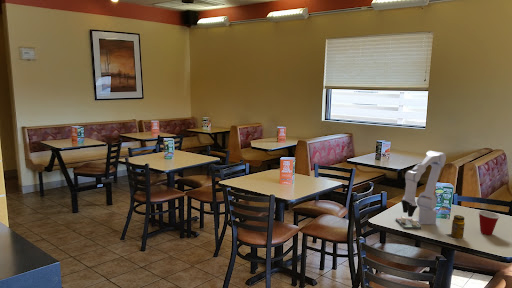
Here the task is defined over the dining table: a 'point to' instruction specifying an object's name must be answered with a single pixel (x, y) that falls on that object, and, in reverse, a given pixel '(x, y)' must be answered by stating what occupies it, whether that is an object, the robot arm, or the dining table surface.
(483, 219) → the plastic cup
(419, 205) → the robot arm
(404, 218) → the breaker
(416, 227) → the breaker panel
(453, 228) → the condiment
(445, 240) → the dining table surface
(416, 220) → the breaker
